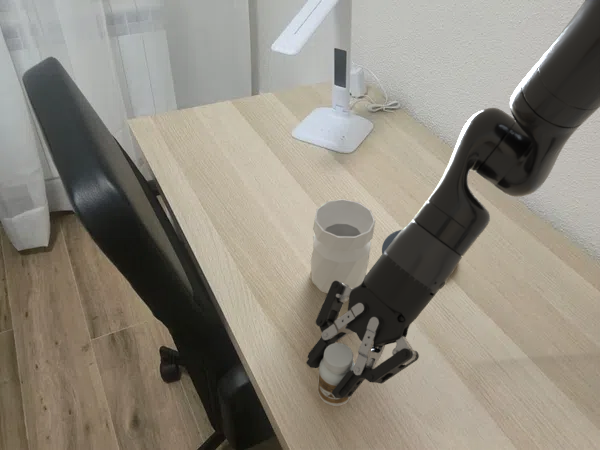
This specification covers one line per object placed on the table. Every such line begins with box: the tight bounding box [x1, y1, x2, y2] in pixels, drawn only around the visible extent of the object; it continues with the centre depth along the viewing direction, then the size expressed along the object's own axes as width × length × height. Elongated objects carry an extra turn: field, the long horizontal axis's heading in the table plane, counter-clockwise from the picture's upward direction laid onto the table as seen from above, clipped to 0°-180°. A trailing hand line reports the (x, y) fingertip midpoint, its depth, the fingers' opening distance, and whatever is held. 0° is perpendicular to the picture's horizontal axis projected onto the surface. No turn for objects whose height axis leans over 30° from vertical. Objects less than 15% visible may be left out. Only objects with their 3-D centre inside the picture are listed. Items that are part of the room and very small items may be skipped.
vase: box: [310, 198, 376, 294], centre depth 82 cm, size 9×9×12 cm
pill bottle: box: [317, 342, 355, 407], centre depth 67 cm, size 4×4×8 cm
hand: (324, 380), depth 66 cm, fingers closed on pill bottle, 4 cm apart
